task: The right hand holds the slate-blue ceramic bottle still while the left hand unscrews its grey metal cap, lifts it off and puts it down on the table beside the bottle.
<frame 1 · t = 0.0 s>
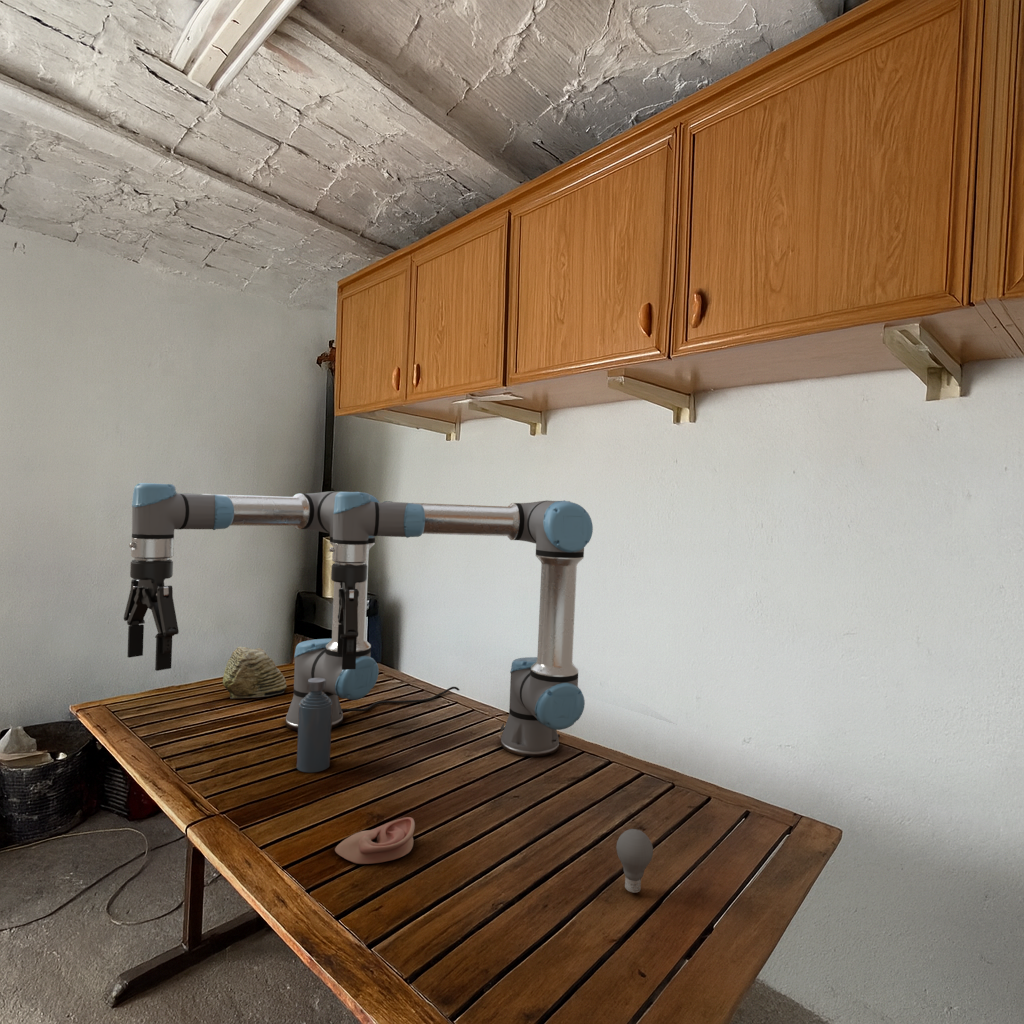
left hand: (148, 662, 129), 28 cm above the table, tool pointing down, fingers open, 13 cm apart
right hand: (345, 660, 137), 28 cm above the table, tool pointing down, fingers open, 13 cm apart
light bulb: (632, 891, 106), on the table
bottle: (313, 765, 149), on the table
anatomical model: (375, 848, 115), on the table
fossil: (254, 694, 198), on the table
cap: (316, 681, 148), point 20 cm above the table, screwed on, not yet turned
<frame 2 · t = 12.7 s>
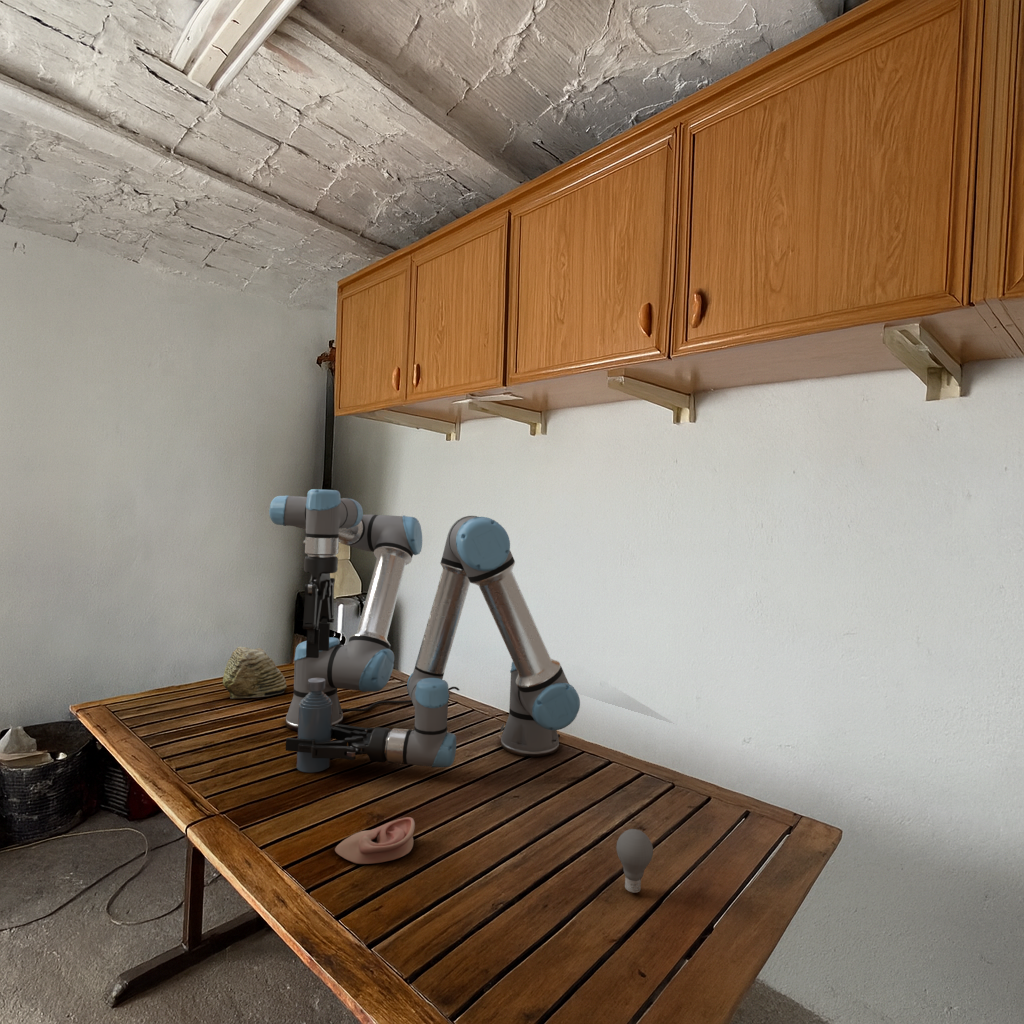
left hand: (317, 653, 148), 27 cm above the table, tool pointing down, fingers open, 6 cm apart
right hand: (294, 737, 149), 6 cm above the table, tool horizontal, fingers closed on bottle, 8 cm apart
bottle: (313, 765, 149), on the table, touching right hand
everything else where it was.
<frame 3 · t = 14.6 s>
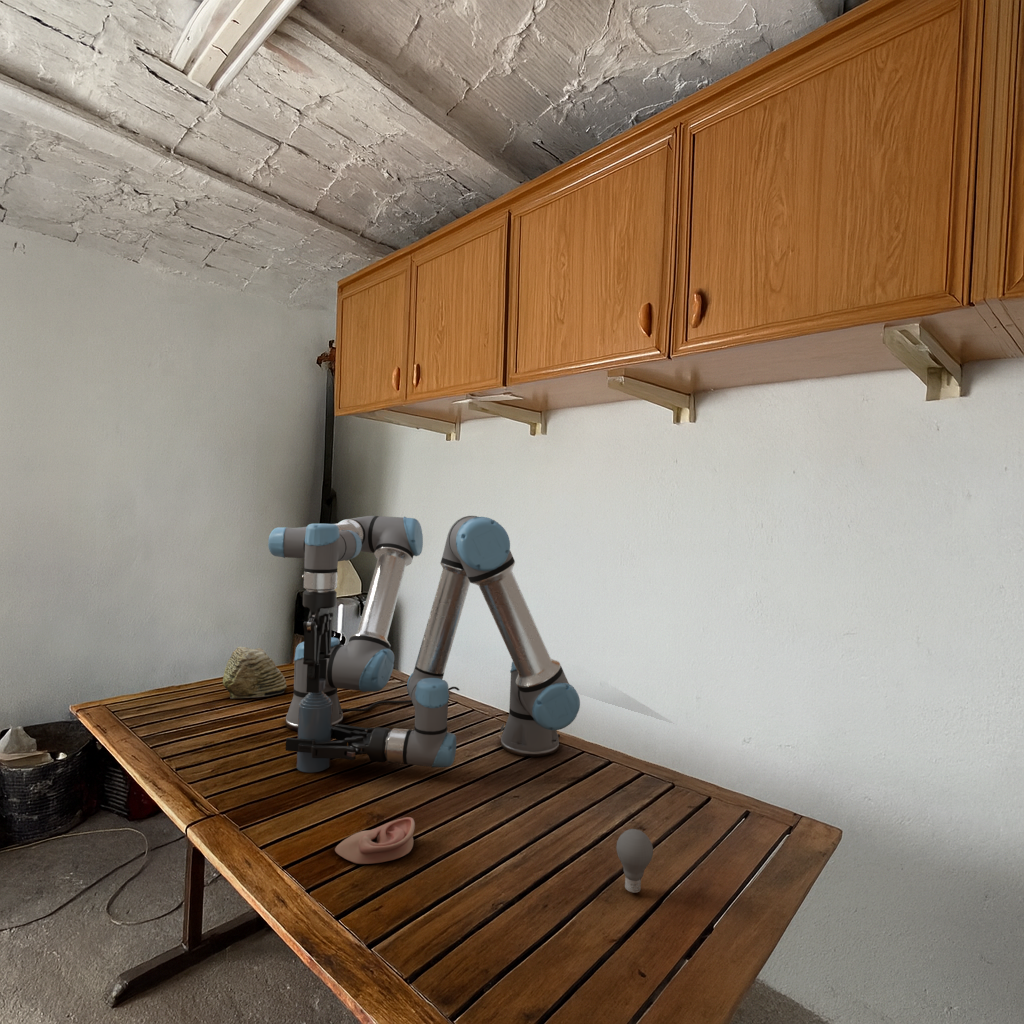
left hand: (316, 689, 148), 18 cm above the table, tool pointing down, fingers closed on cap, 4 cm apart
right hand: (294, 737, 149), 6 cm above the table, tool horizontal, fingers closed on bottle, 8 cm apart
bottle: (313, 765, 149), on the table, touching right hand
cap: (316, 681, 148), point 20 cm above the table, screwed on, not yet turned, touching left hand
everything else where it was.
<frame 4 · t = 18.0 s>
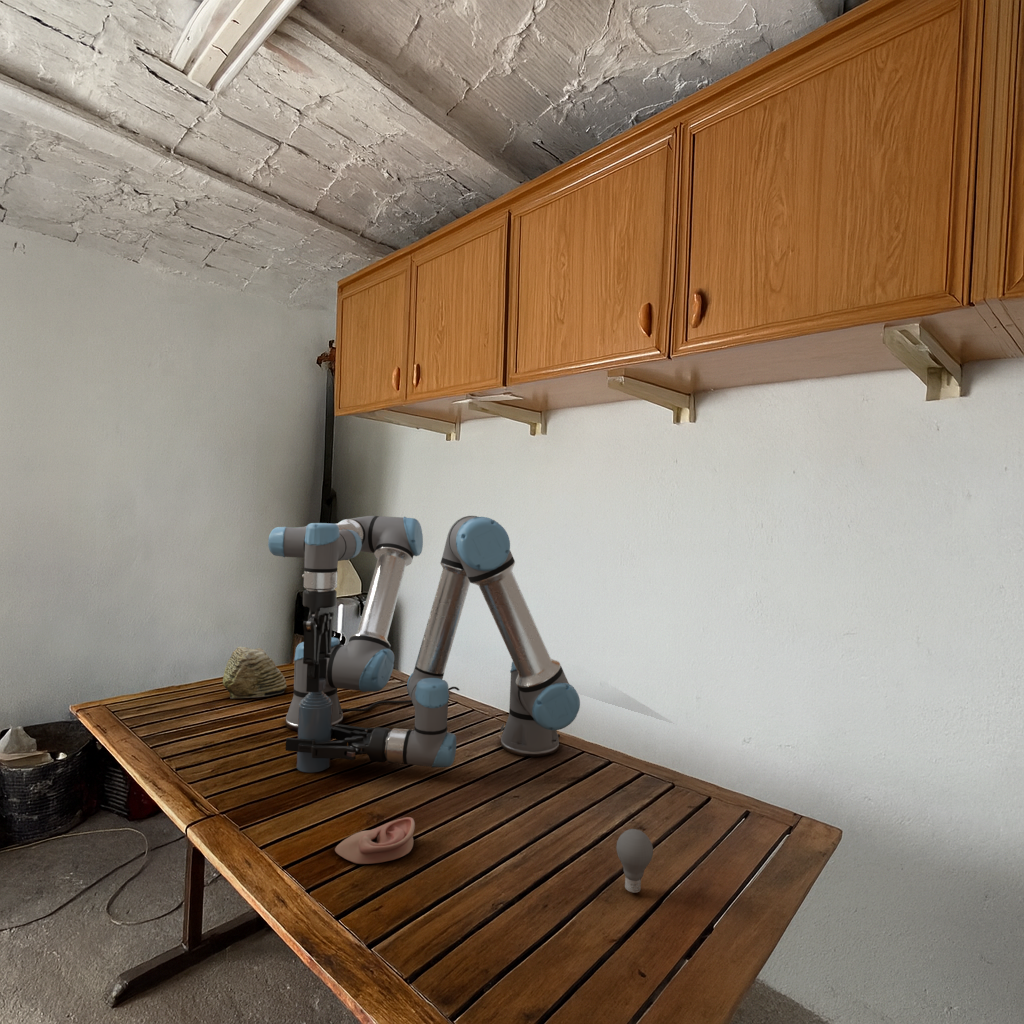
left hand: (316, 688, 148), 18 cm above the table, tool pointing down, fingers closed on cap, 4 cm apart
right hand: (294, 737, 149), 6 cm above the table, tool horizontal, fingers closed on bottle, 8 cm apart
bottle: (313, 765, 149), on the table, touching right hand
cap: (316, 680, 148), point 20 cm above the table, turned 119° so far, risen 0.1 cm, still on its thread, touching left hand
everything else where it was.
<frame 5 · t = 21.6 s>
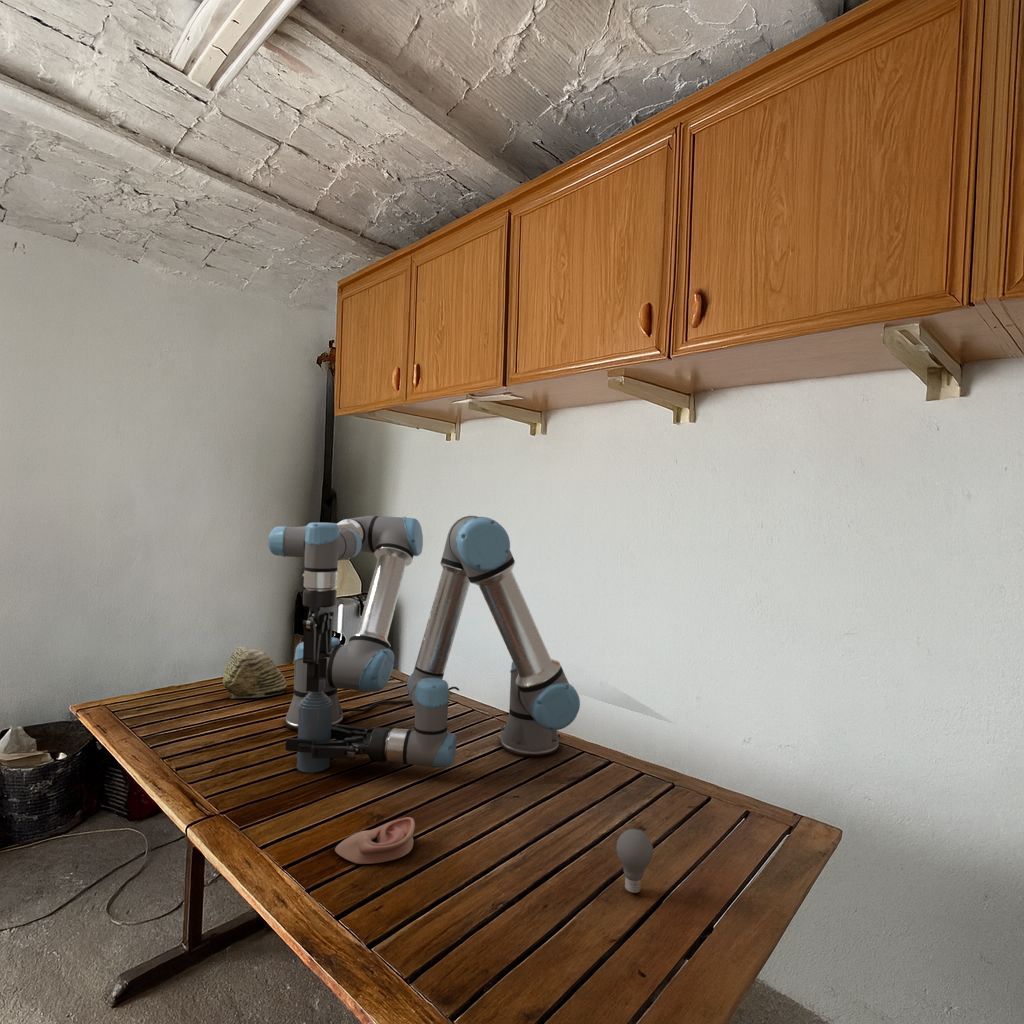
left hand: (316, 687, 148), 18 cm above the table, tool pointing down, fingers closed on cap, 4 cm apart
right hand: (294, 737, 149), 6 cm above the table, tool horizontal, fingers closed on bottle, 8 cm apart
bottle: (313, 765, 149), on the table, touching right hand
cap: (316, 680, 148), point 20 cm above the table, turned 238° so far, risen 0.2 cm, still on its thread, touching left hand
everything else where it was.
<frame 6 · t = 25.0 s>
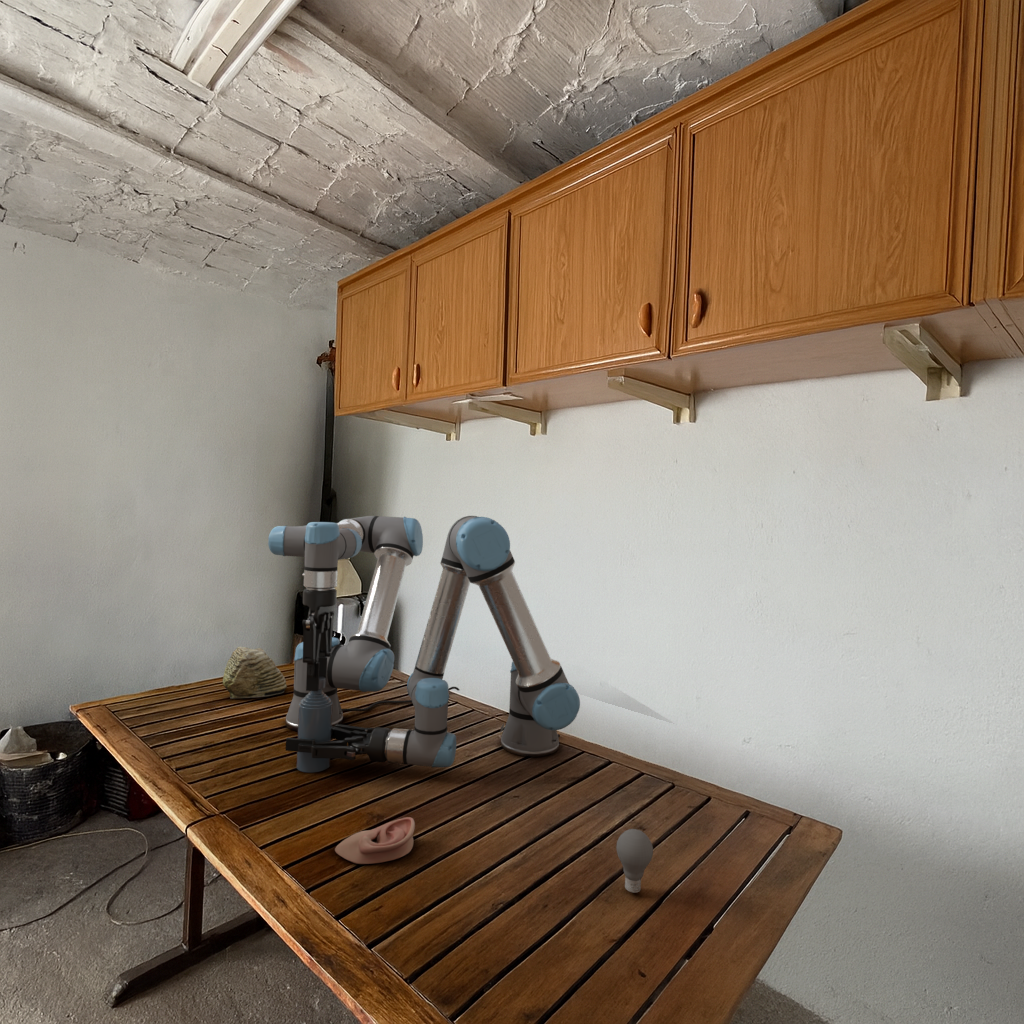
left hand: (316, 687, 148), 19 cm above the table, tool pointing down, fingers closed on cap, 4 cm apart
right hand: (294, 737, 149), 6 cm above the table, tool horizontal, fingers closed on bottle, 8 cm apart
bottle: (313, 765, 149), on the table, touching right hand
cap: (316, 679, 148), point 20 cm above the table, turned 358° so far, risen 0.4 cm, still on its thread, touching left hand
everything else where it was.
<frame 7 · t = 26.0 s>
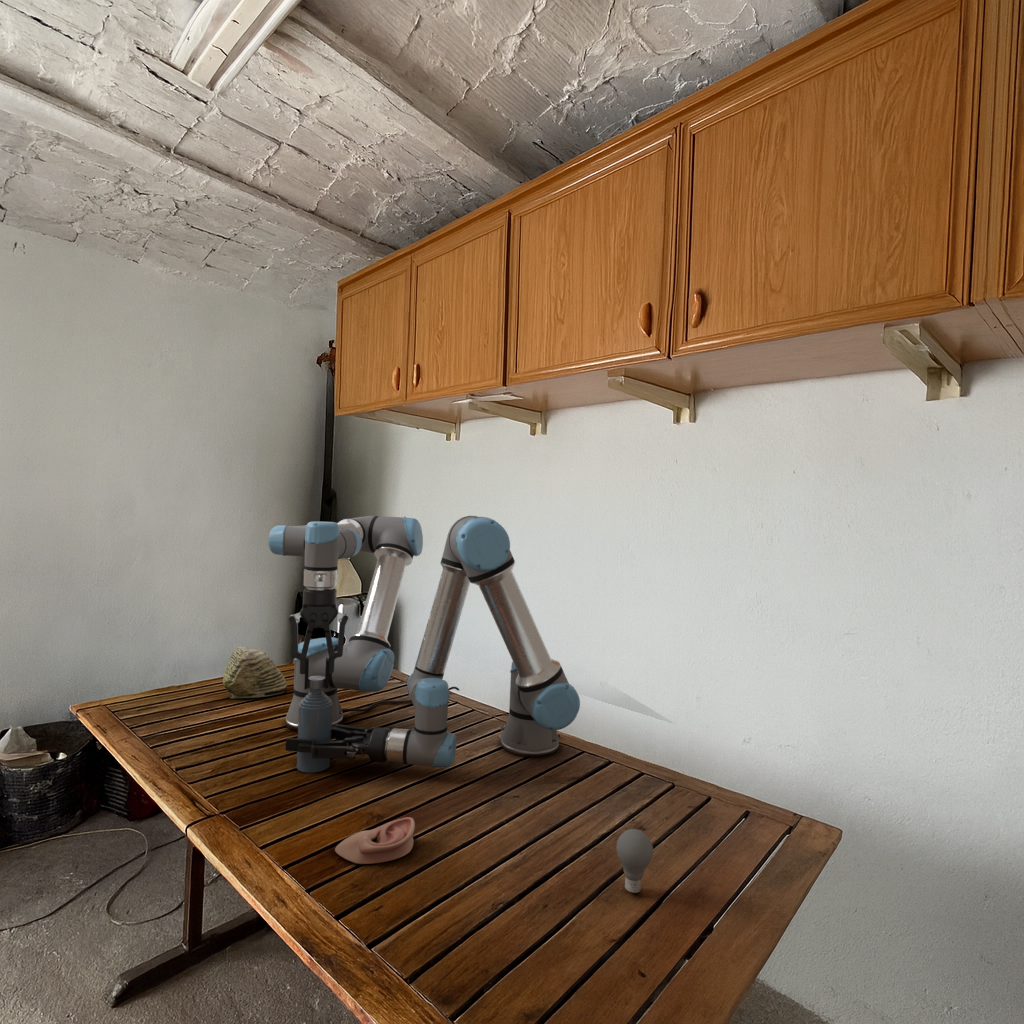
left hand: (316, 686, 148), 19 cm above the table, tool pointing down, fingers closed on cap, 4 cm apart
right hand: (294, 737, 149), 6 cm above the table, tool horizontal, fingers closed on bottle, 8 cm apart
bottle: (313, 765, 149), on the table, touching right hand
cap: (316, 679, 148), point 20 cm above the table, off its thread, touching left hand
everything else where it was.
when the left hand's fingers open (1 cm above the table, at t = 32.5 s): cap drops 1 cm, point 2 cm above the table.
when the right hand's fingers open (6 cm above the table, at t = 33.8 s): bottle stays where it is, on the table.
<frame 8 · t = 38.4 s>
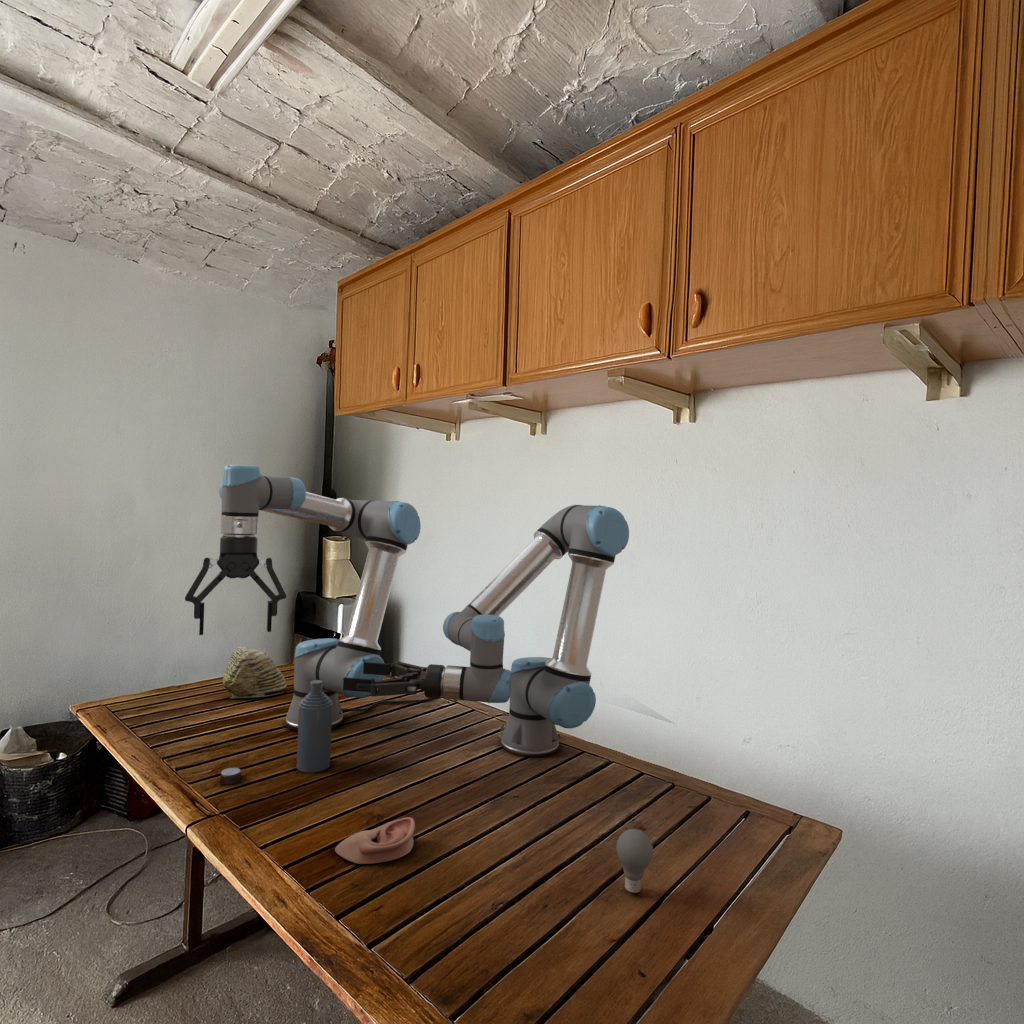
left hand: (235, 632, 139), 33 cm above the table, tool pointing down, fingers open, 13 cm apart
right hand: (354, 675, 147), 22 cm above the table, tool horizontal, fingers open, 13 cm apart
bottle: (313, 765, 149), on the table
cap: (230, 772, 139), point 2 cm above the table, off its thread
everything else where it was.
at the end: cap came off its thread; cap point 1.8 cm above the table; the left hand is holding nothing; the right hand is holding nothing; bottle tilted 0°; bottle moved 0.0 cm from its start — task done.
